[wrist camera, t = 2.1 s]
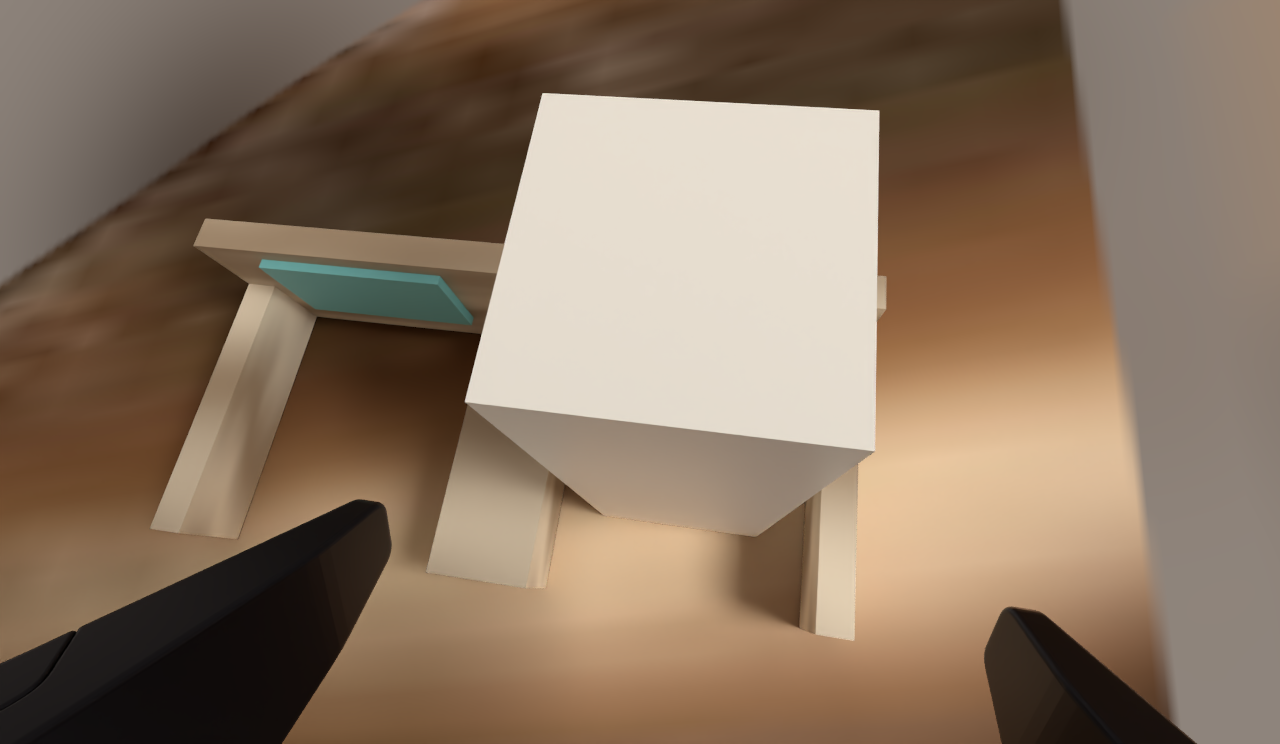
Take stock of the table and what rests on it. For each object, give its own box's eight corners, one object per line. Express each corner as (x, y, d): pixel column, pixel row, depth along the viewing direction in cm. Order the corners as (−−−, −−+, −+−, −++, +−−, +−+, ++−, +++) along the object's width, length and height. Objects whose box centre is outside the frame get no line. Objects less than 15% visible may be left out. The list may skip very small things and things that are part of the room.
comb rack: (832, 633, 18) (884, 650, 13) (211, 535, 20) (69, 520, 16) (842, 345, 21) (886, 276, 16) (302, 291, 24) (205, 218, 19)
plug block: (755, 537, 19) (875, 450, 7) (604, 515, 20) (464, 402, 7) (767, 391, 21) (879, 110, 8) (626, 375, 21) (542, 93, 9)
